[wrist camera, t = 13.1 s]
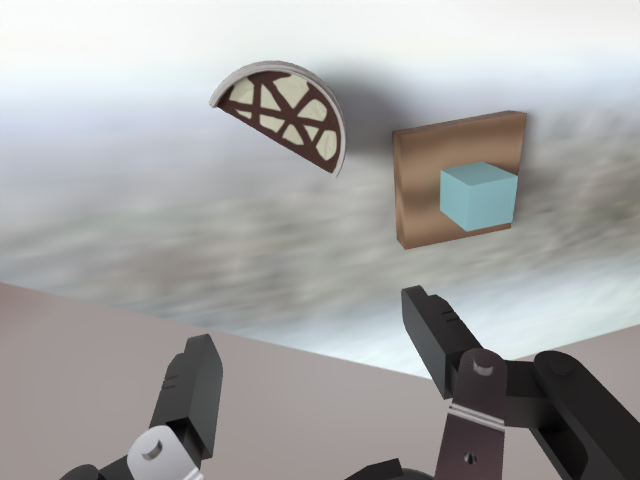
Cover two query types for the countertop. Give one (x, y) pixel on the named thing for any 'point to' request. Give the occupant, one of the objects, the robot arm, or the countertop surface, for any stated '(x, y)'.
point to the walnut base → (441, 153)
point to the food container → (287, 110)
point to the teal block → (478, 195)
